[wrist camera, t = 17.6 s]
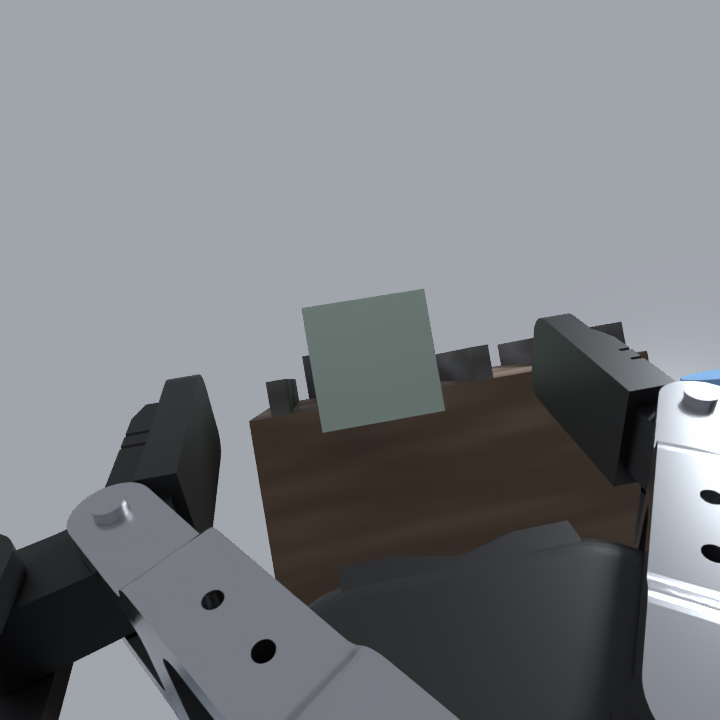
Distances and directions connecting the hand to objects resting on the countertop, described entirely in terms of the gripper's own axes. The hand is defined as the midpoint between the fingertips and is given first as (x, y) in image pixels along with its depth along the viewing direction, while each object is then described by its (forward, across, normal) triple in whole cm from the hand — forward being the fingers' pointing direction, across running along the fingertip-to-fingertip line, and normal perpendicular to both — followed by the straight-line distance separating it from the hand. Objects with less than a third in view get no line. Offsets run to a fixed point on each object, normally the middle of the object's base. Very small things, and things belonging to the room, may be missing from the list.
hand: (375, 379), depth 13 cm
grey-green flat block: (+10, 0, +7) cm, 13 cm away
